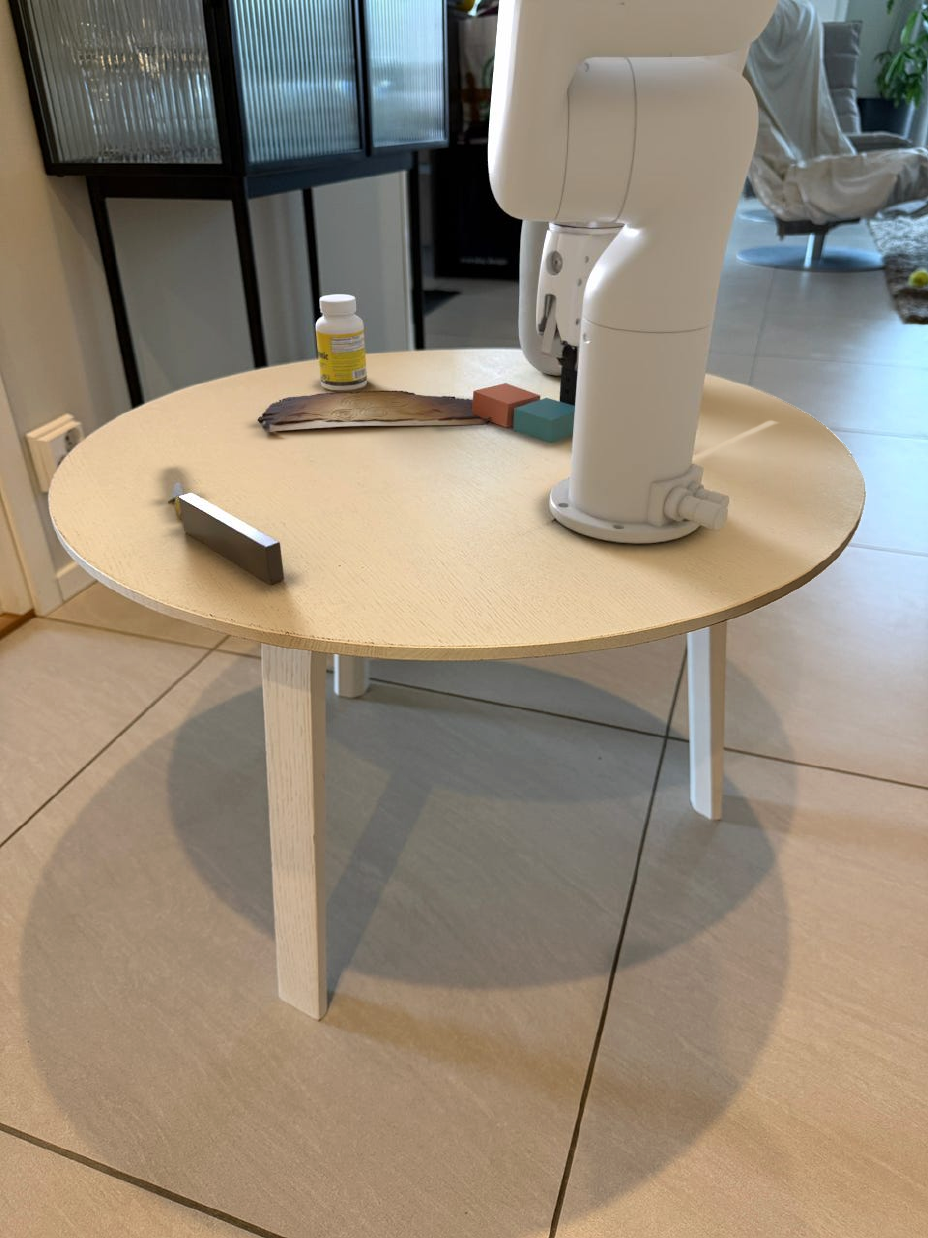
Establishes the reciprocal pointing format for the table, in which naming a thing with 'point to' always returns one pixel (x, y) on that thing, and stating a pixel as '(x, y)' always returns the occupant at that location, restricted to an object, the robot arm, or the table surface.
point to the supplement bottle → (341, 344)
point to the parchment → (367, 410)
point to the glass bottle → (532, 296)
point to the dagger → (177, 493)
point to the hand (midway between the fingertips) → (575, 405)
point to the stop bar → (232, 538)
